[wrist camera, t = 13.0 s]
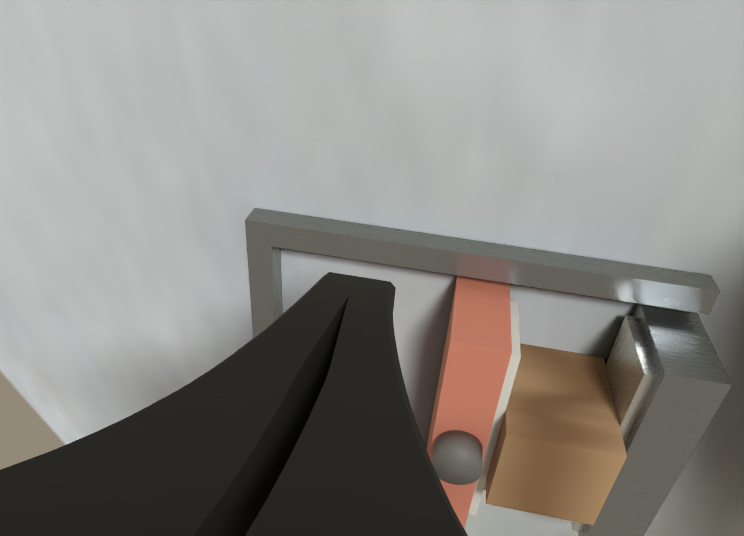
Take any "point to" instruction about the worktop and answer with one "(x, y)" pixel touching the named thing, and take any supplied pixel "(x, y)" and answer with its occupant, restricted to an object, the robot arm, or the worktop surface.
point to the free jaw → (473, 388)
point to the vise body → (566, 274)
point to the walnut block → (557, 438)
